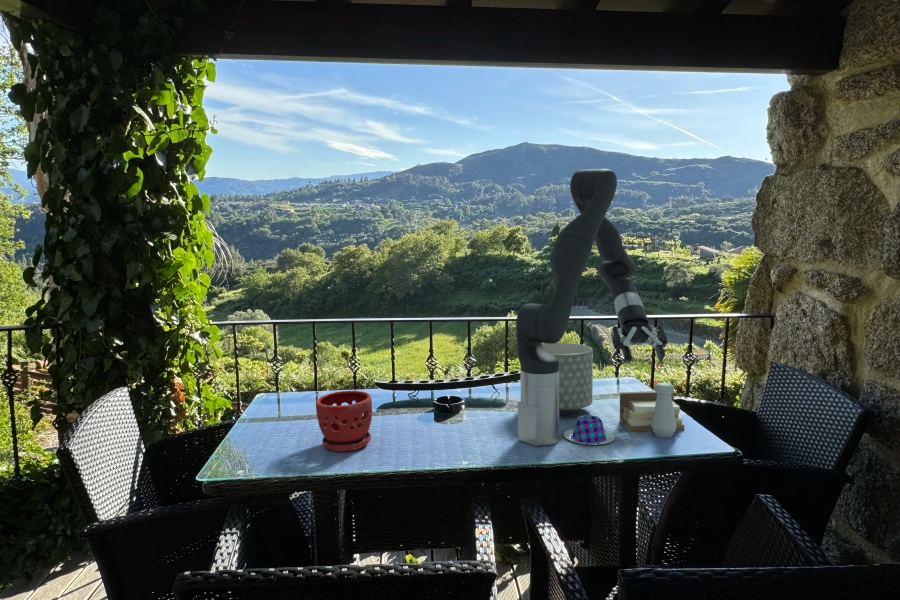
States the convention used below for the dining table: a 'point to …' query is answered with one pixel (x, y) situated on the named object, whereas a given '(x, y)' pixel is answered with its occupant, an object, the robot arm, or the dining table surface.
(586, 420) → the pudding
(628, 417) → the offcut rack
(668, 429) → the salt shaker
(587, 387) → the planter
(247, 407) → the dining table surface
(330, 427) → the plant pot
